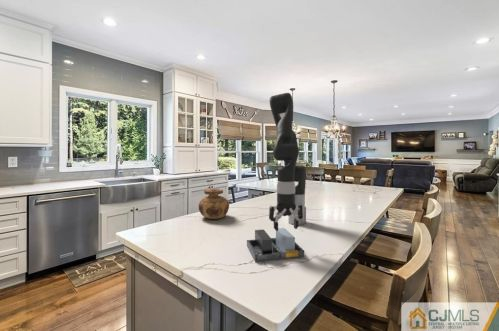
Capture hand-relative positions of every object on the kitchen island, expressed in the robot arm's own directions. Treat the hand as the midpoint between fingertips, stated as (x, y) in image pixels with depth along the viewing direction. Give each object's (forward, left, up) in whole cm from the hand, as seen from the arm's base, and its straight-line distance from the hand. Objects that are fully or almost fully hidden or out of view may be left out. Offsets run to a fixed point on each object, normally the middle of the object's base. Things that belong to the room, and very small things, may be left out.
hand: (286, 229), depth 103 cm
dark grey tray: (+5, 0, -9) cm, 10 cm away
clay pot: (+26, -57, -9) cm, 63 cm away
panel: (+1, 0, -8) cm, 8 cm away
